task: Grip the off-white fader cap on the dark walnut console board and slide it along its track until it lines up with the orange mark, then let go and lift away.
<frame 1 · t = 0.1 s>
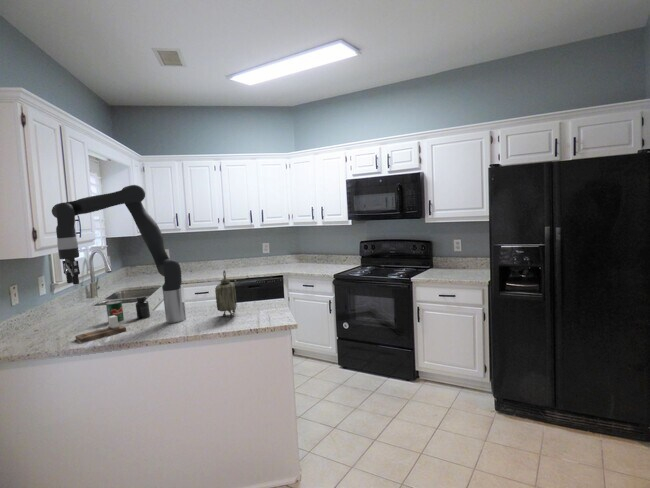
hand: (73, 283, 173), 29 cm above the countertop, tool pointing down, fingers open, 8 cm apart
canned tomato: (116, 321, 218), on the countertop
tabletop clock: (228, 316, 210), on the countertop
console board: (101, 335, 191), on the countertop
supplement bottle: (143, 317, 221), on the countertop
fader: (113, 321, 195), point 5 cm above the countertop, slide at 0.0 cm
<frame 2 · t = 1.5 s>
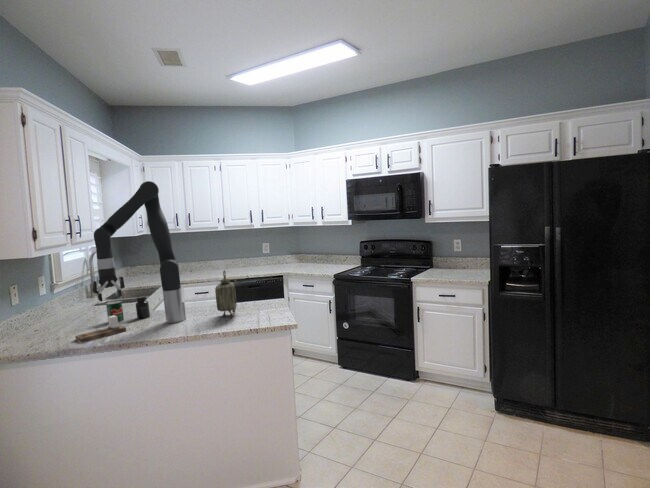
hand: (110, 299, 194), 17 cm above the countertop, tool pointing down, fingers open, 8 cm apart
nothing on the countertop moved.
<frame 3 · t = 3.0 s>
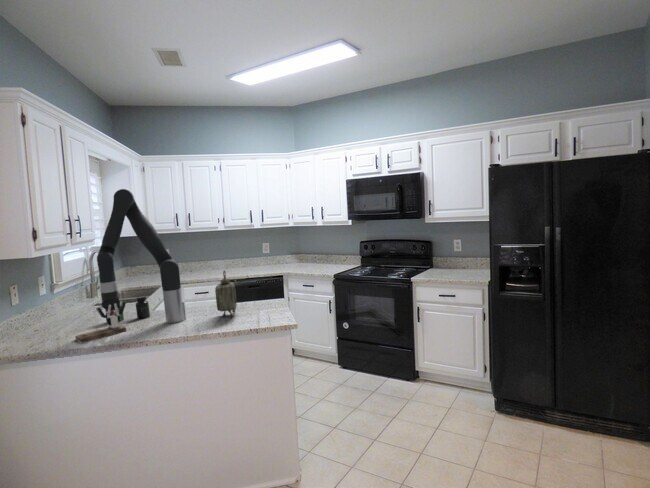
hand: (113, 323, 195), 4 cm above the countertop, tool pointing down, fingers closed on fader, 3 cm apart
fader: (113, 321, 195), point 5 cm above the countertop, slide at 0.0 cm, touching gripper
everything else where it was.
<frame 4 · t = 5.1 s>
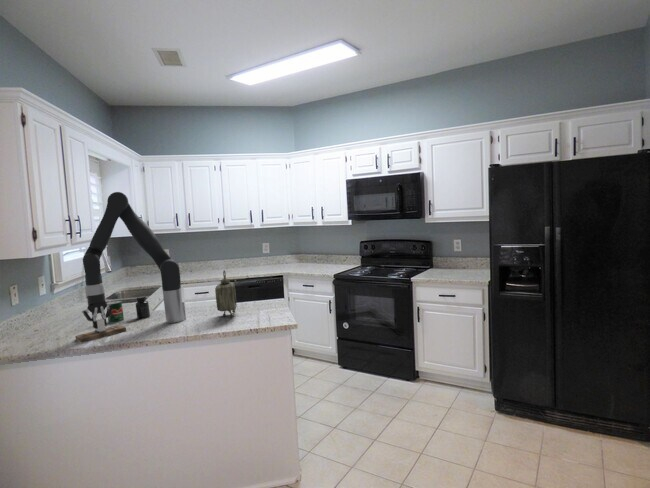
hand: (100, 327, 191), 4 cm above the countertop, tool pointing down, fingers closed on fader, 3 cm apart
fader: (100, 325, 191), point 5 cm above the countertop, slide at 6.2 cm, touching gripper
everything else where it was.
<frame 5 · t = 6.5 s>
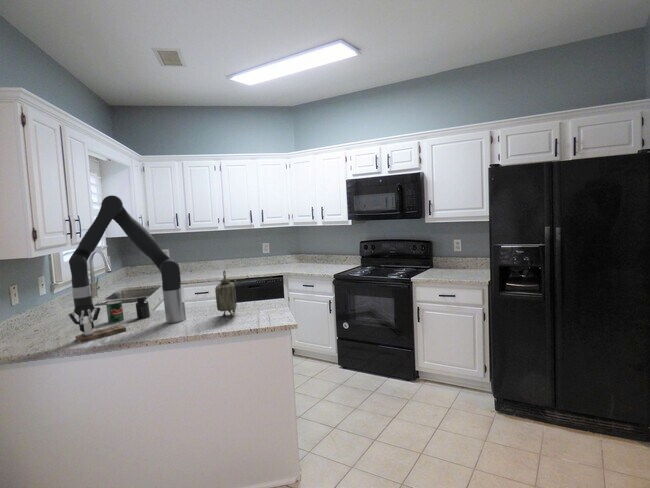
hand: (87, 330, 187), 4 cm above the countertop, tool pointing down, fingers closed on fader, 3 cm apart
fader: (87, 328, 186), point 5 cm above the countertop, slide at 11.9 cm, touching gripper
everything else where it was.
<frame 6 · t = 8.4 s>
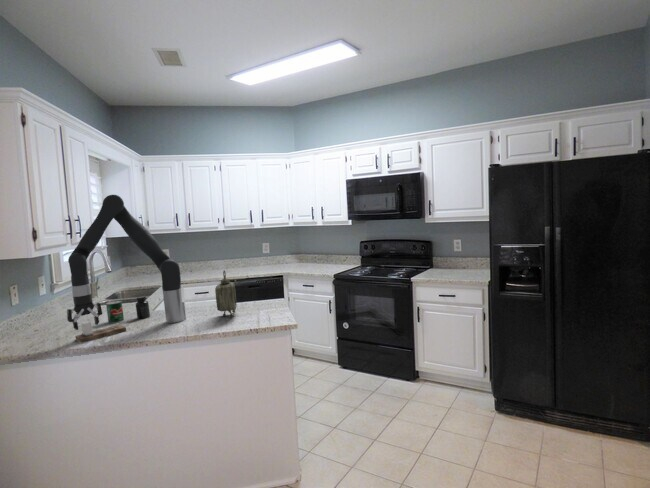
hand: (86, 327, 186), 6 cm above the countertop, tool pointing down, fingers open, 8 cm apart
fader: (86, 328, 186), point 5 cm above the countertop, slide at 11.9 cm
everything else where it was.
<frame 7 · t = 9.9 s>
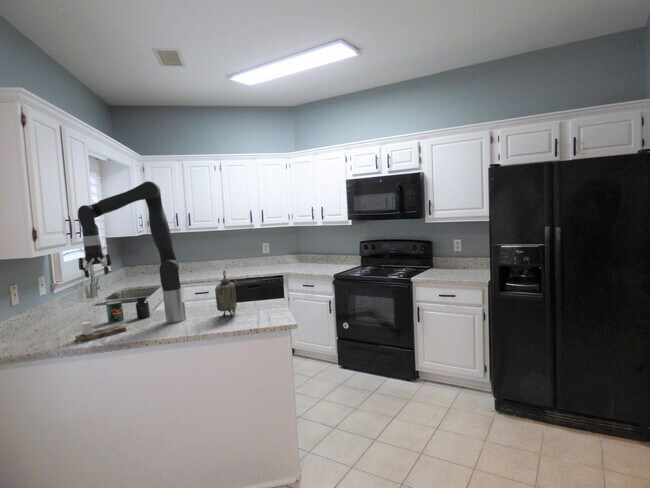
hand: (97, 276, 197), 29 cm above the countertop, tool pointing down, fingers open, 8 cm apart
nothing on the countertop moved.
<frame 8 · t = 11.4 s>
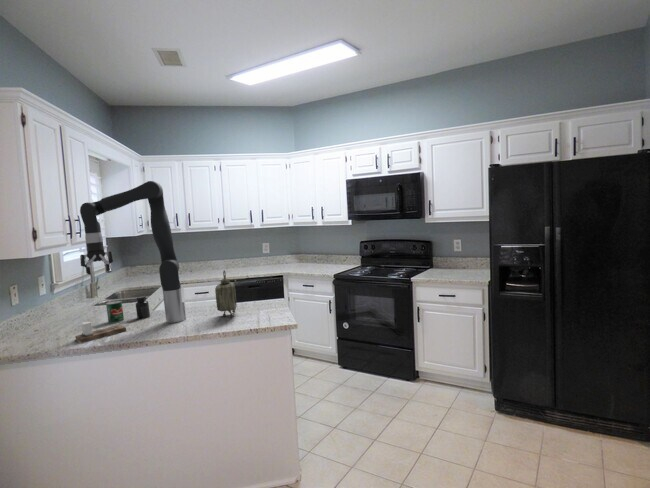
hand: (98, 272, 198), 30 cm above the countertop, tool pointing down, fingers open, 8 cm apart
nothing on the countertop moved.
at the end: fader slide at 11.9 cm; the gripper is holding nothing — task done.
